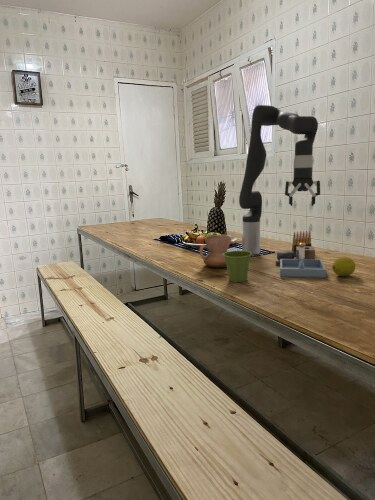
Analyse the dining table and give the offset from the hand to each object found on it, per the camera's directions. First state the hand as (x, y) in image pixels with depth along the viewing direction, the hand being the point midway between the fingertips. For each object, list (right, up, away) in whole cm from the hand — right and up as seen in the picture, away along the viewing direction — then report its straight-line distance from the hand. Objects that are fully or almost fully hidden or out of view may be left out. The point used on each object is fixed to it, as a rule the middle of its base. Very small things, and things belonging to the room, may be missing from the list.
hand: (301, 205), depth 163 cm
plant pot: (-28, -32, -5) cm, 42 cm away
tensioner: (+3, -25, +20) cm, 32 cm away
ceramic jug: (-34, -27, +19) cm, 48 cm away
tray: (+1, -28, +3) cm, 29 cm away
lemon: (+15, -30, -5) cm, 34 cm away
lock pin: (+1, -28, +3) cm, 28 cm away
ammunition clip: (+11, -21, +38) cm, 45 cm away
